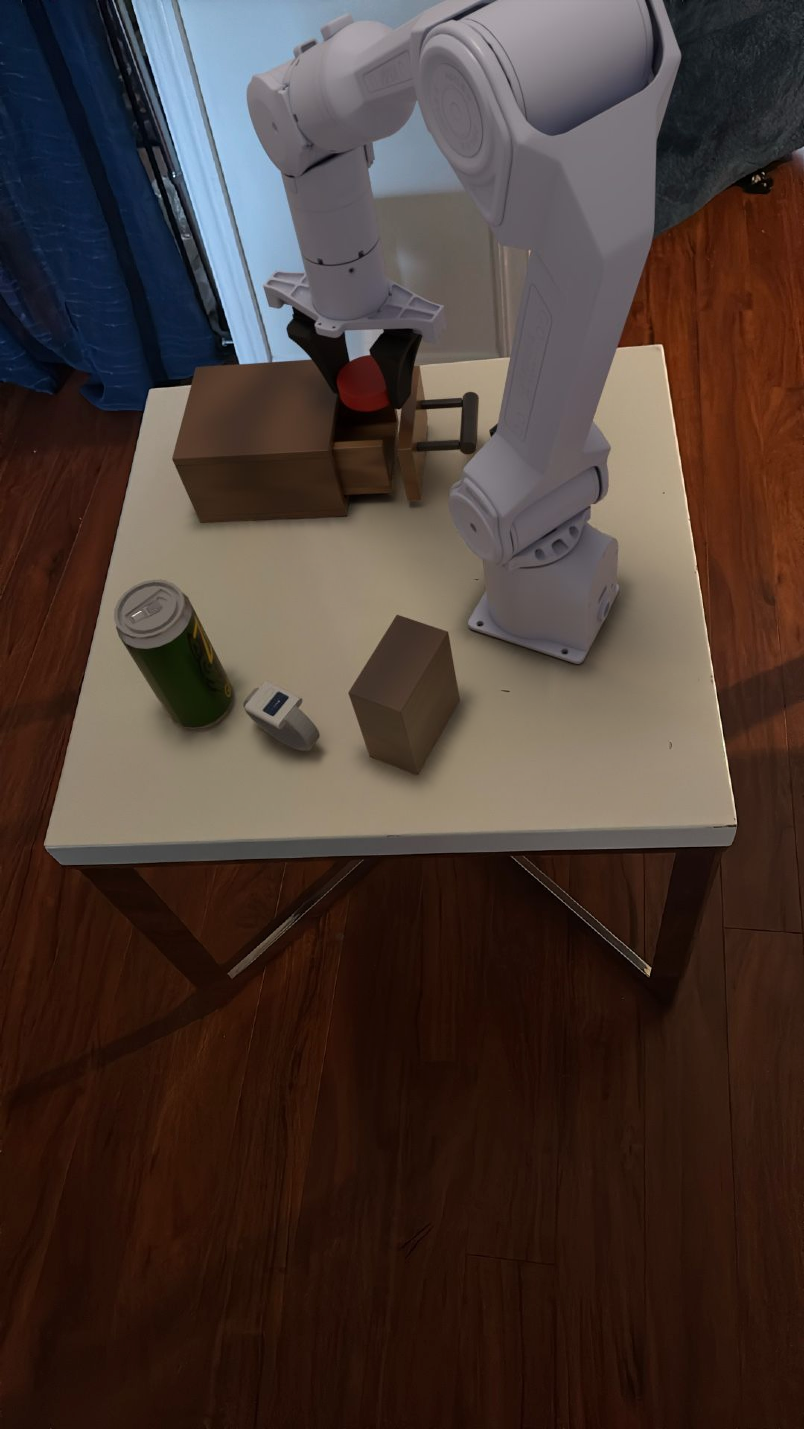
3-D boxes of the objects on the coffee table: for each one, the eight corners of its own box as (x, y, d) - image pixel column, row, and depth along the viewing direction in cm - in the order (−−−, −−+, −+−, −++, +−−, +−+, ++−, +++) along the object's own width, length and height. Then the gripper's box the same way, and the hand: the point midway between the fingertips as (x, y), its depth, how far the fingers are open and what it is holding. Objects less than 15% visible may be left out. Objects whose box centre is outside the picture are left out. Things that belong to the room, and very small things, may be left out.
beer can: (187, 745, 79) (130, 653, 69) (156, 698, 81) (97, 603, 71) (248, 707, 80) (200, 612, 70) (216, 663, 82) (166, 564, 72)
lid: (412, 376, 84) (409, 361, 83) (383, 417, 82) (379, 402, 81) (358, 364, 86) (355, 349, 85) (329, 404, 84) (325, 389, 83)
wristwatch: (246, 733, 78) (227, 698, 74) (268, 707, 79) (251, 670, 75) (310, 770, 76) (294, 735, 72) (332, 741, 77) (318, 705, 73)
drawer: (482, 414, 92) (477, 361, 87) (479, 497, 87) (473, 445, 82) (297, 425, 94) (281, 374, 90) (282, 506, 89) (265, 456, 84)
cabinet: (358, 425, 95) (343, 356, 88) (346, 516, 89) (328, 450, 82) (220, 433, 97) (195, 366, 90) (199, 522, 91) (171, 458, 85)
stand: (460, 699, 77) (448, 631, 70) (417, 775, 74) (400, 712, 67) (412, 682, 79) (396, 614, 72) (369, 756, 76) (347, 692, 69)
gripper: (224, 257, 74) (271, 405, 85) (403, 294, 69) (428, 447, 80) (275, 199, 77) (314, 351, 88) (450, 231, 72) (468, 387, 83)
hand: (371, 393), depth 84 cm, fingers closed on lid, 5 cm apart
